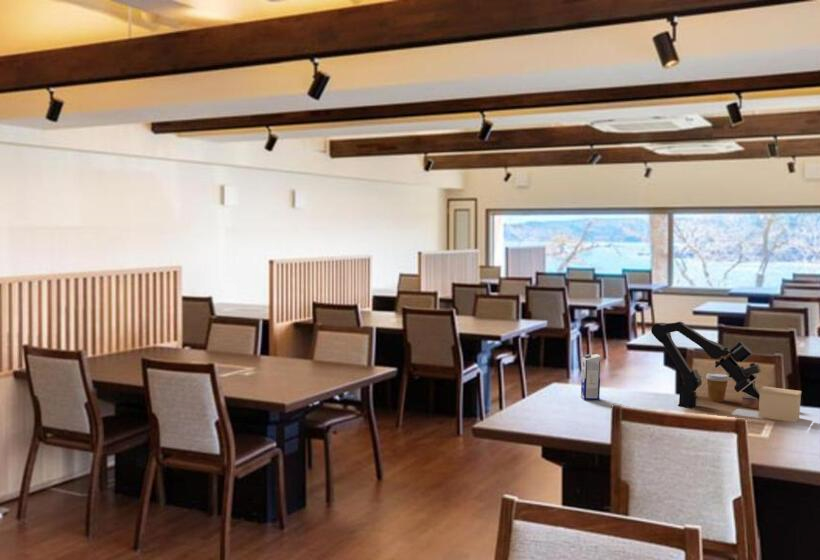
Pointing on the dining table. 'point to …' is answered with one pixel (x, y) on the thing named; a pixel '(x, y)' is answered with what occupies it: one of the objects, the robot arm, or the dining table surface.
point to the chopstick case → (750, 402)
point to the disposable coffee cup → (716, 386)
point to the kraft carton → (779, 404)
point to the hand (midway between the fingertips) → (760, 398)
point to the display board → (746, 413)
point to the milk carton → (591, 377)
